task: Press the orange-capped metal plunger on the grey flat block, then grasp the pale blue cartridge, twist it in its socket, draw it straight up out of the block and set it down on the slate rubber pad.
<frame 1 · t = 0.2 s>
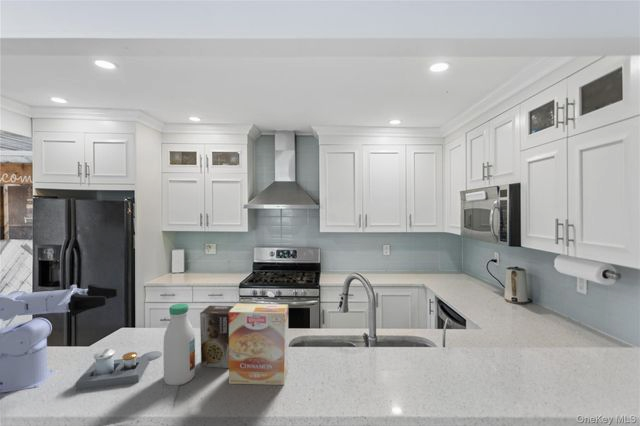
hand: (111, 296, 84), 21 cm above the countertop, tool horizontal, fingers open, 7 cm apart
cartridge: (105, 376, 82), resting on grey flat block
plunger: (129, 361, 83), point 4 cm above the countertop, slide at 0.0 cm
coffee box: (219, 362, 91), on the countertop
coffeecake box: (259, 378, 83), on the countertop
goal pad: (151, 357, 93), on the countertop
milk bottle: (179, 378, 82), on the countertop
grey flat block: (115, 376, 83), on the countertop
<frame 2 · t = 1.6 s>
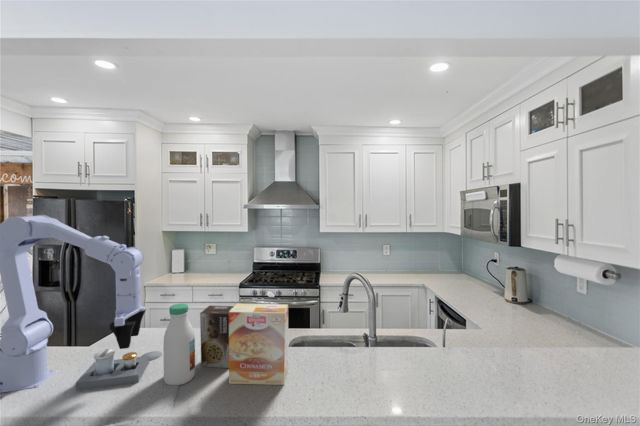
hand: (129, 341, 83), 9 cm above the countertop, tool pointing down, fingers open, 7 cm apart
nothing on the countertop moved.
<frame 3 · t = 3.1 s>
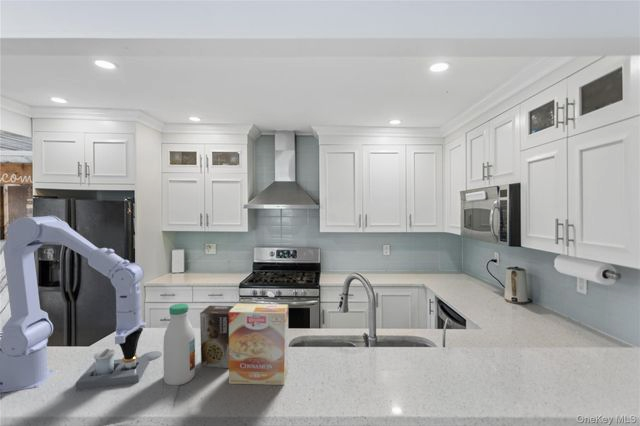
hand: (129, 357, 83), 5 cm above the countertop, tool pointing down, fingers closed, pressing on plunger
plunger: (129, 363, 83), point 3 cm above the countertop, slide at 0.7 cm, touching gripper
everything else where it was.
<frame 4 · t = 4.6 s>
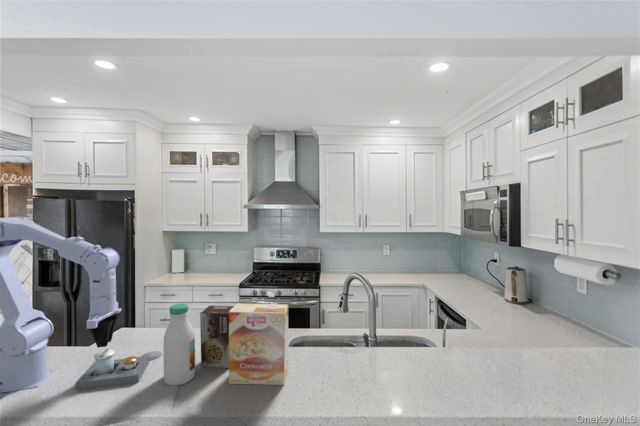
hand: (104, 344, 82), 9 cm above the countertop, tool pointing down, fingers closed
plunger: (129, 365, 84), point 3 cm above the countertop, slide at 1.2 cm
everything else where it was.
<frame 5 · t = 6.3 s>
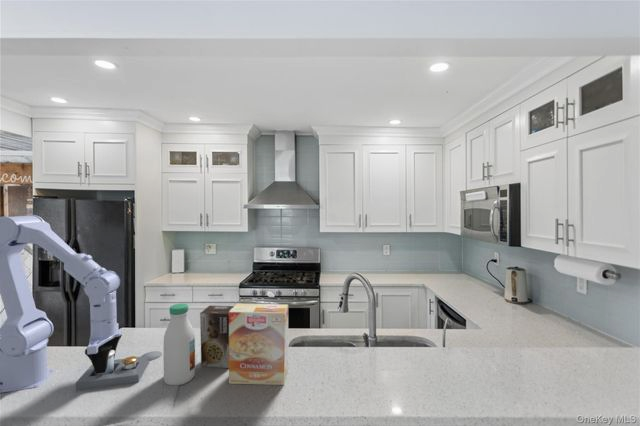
hand: (104, 367, 82), 3 cm above the countertop, tool pointing down, fingers closed on cartridge, 4 cm apart
cartridge: (105, 376, 82), resting on grey flat block, touching gripper
everything else where it was.
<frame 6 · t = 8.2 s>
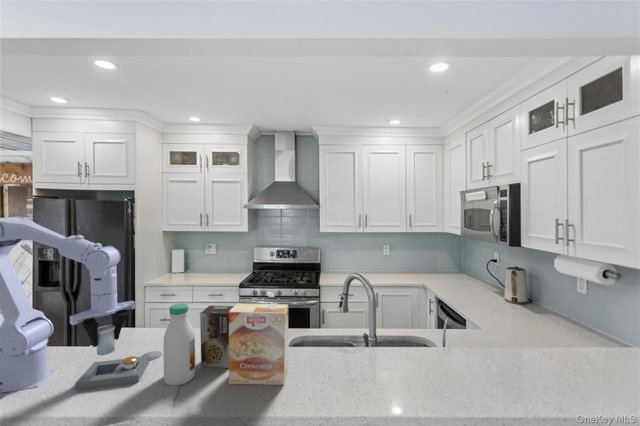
hand: (105, 342, 82), 10 cm above the countertop, tool pointing down, fingers closed on cartridge, 4 cm apart
cartridge: (106, 351, 82), point 7 cm above the countertop, touching gripper
everything else where it was.
when the fingers open (4 cm above the countertop, at t = 10.5 s): cartridge stays where it is, resting on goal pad.
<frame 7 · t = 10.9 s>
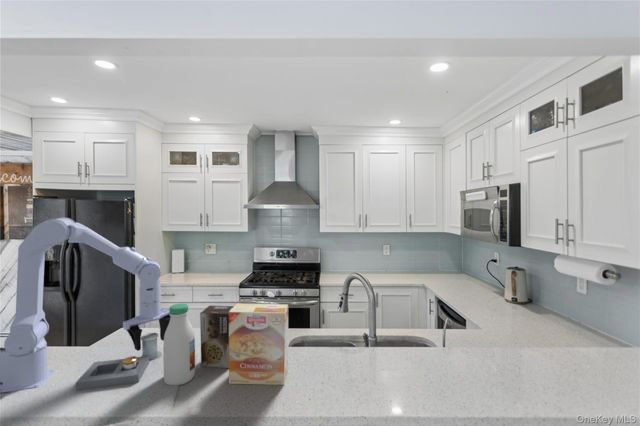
hand: (150, 344, 93), 4 cm above the countertop, tool pointing down, fingers open, 7 cm apart
cartridge: (150, 356, 93), resting on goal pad
everything else where it was.
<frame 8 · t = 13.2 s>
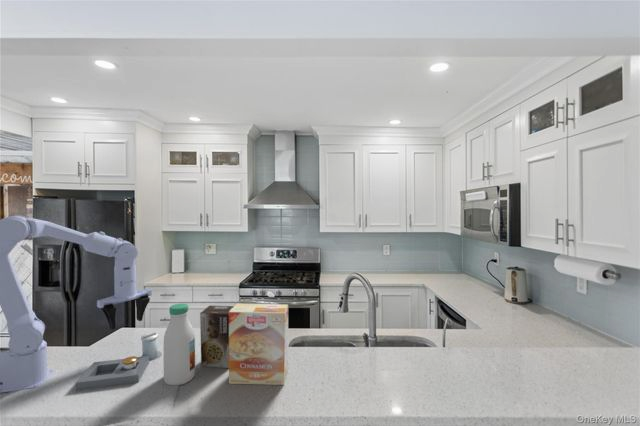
hand: (126, 324, 94), 10 cm above the countertop, tool pointing down, fingers open, 7 cm apart
nothing on the countertop moved.
at the end: cartridge inside the target area on the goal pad (0.4 cm from its centre), point 0.4 cm above the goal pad's base; cartridge tilted 0°; plunger slide at 1.2 cm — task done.
